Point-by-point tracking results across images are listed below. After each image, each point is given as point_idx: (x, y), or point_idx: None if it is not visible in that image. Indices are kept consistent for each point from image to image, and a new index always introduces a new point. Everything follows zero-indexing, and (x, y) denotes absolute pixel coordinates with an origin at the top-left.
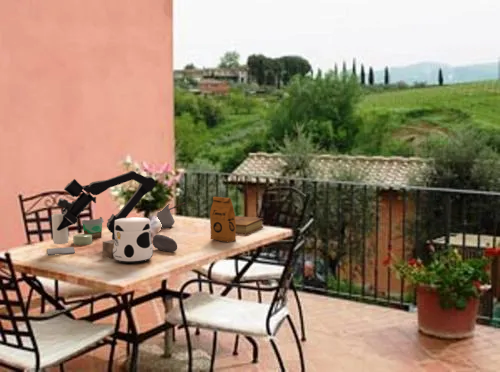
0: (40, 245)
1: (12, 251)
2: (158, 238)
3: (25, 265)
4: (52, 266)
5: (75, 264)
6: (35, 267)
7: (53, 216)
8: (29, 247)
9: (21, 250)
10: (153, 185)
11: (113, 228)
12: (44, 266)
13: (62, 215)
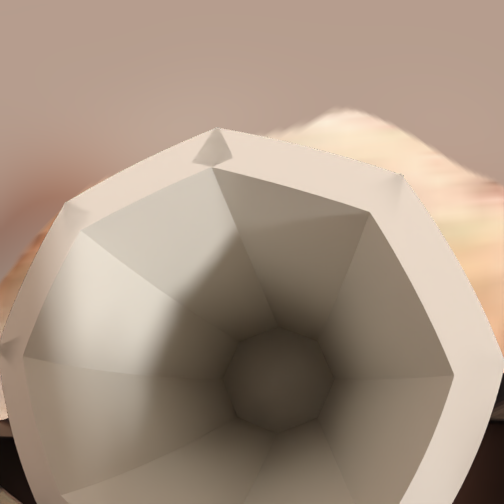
0: (479, 223)
1: (345, 118)
2: None
3: (53, 220)
4: (5, 322)
5: (5, 410)
6: (17, 261)
7: (84, 201)
8: (434, 175)
9: (365, 147)
10: None
11: None
12: (14, 293)
13: (395, 469)
